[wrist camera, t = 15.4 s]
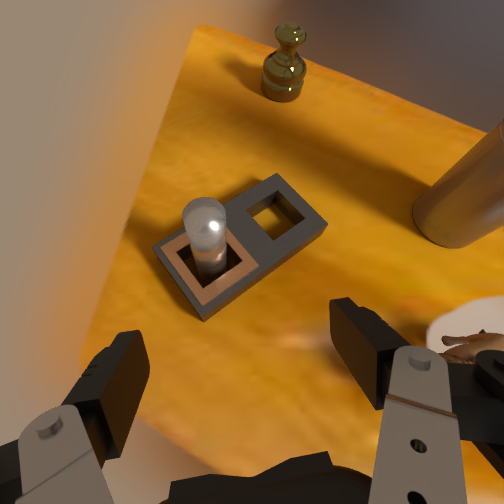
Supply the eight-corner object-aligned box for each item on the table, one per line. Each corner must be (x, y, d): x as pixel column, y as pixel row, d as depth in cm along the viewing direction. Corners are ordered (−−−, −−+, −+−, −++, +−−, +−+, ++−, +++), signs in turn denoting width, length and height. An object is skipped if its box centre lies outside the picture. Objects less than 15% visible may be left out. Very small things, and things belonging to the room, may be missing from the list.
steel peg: (215, 249, 35) (209, 190, 24) (232, 270, 34) (234, 219, 23) (191, 265, 33) (174, 210, 23) (208, 287, 32) (198, 241, 22)
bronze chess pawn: (302, 80, 51) (318, 16, 42) (299, 106, 48) (316, 43, 39) (263, 73, 51) (270, 7, 42) (257, 99, 48) (265, 34, 39)
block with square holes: (273, 186, 40) (277, 171, 37) (320, 235, 37) (329, 222, 34) (157, 257, 33) (150, 245, 30) (203, 322, 31) (201, 316, 28)
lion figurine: (410, 427, 28) (485, 446, 20) (375, 378, 30) (431, 377, 22) (495, 349, 32) (586, 340, 24) (461, 311, 34) (535, 289, 26)
